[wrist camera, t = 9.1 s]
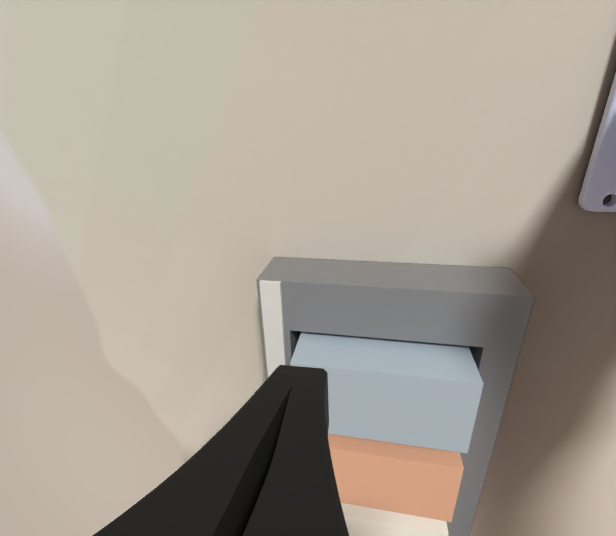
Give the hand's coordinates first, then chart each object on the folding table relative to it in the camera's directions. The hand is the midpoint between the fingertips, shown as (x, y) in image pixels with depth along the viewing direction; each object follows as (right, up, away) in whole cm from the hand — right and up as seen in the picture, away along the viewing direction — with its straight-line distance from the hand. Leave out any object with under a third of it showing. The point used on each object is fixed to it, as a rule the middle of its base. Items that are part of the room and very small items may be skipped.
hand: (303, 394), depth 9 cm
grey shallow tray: (+4, -5, +12) cm, 14 cm away
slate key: (+4, -1, +9) cm, 10 cm away
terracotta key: (+4, -6, +11) cm, 13 cm away
